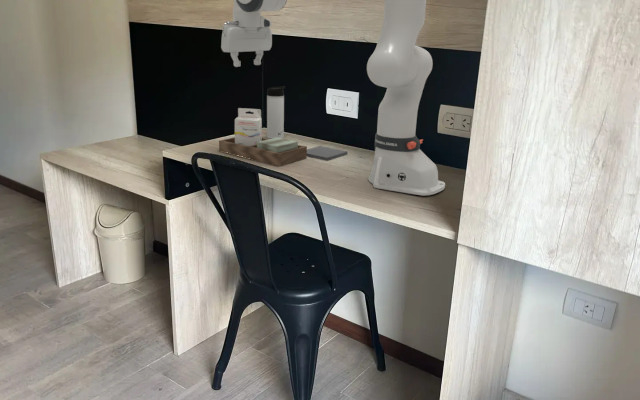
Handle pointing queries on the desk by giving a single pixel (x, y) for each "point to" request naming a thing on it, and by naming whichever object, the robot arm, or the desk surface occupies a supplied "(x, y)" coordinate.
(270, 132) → the travel mug
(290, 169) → the desk surface
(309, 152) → the mat
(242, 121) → the ink cartridge box
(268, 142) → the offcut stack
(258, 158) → the wooden tray
